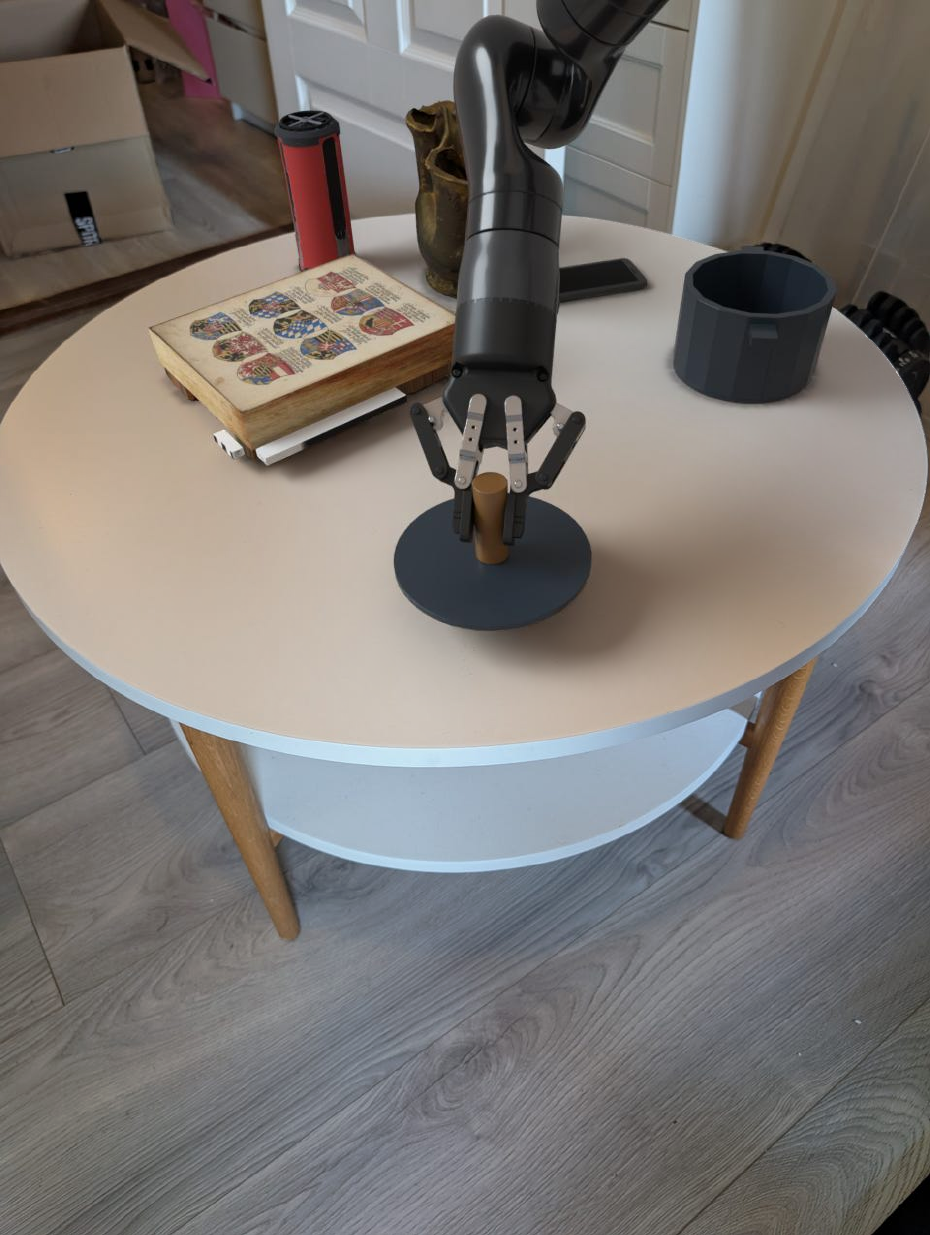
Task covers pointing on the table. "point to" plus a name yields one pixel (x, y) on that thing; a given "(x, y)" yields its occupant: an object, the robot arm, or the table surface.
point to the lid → (492, 563)
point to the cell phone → (599, 279)
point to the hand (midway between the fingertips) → (487, 542)
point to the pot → (752, 325)
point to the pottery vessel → (440, 193)
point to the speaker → (315, 186)
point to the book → (306, 355)
